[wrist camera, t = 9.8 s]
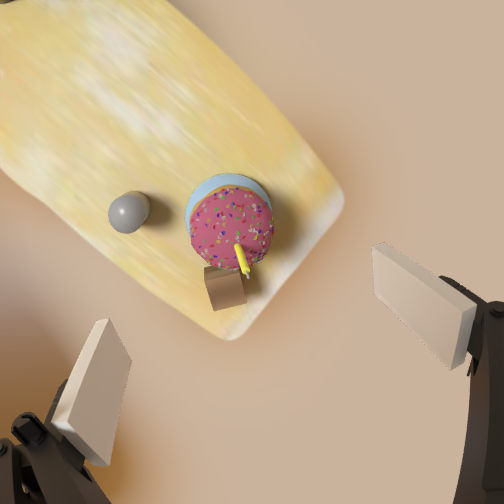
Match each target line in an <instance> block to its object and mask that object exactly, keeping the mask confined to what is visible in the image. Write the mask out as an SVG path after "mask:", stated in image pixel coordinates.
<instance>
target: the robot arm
mask: <svg viewBox="0 0 504 504" xmlns="http://www.w3.org/2000/svg"><path fill="white" fill-rule="evenodd" d="M9 1H12V0H0V3H6V2H9ZM371 248H372V263H373V280H374V295H375V296H376V297H377V298H379V299H380V300H381V301H382V302H383V303H384V304H385V305H386V306H387V307H388V308H389V309H390V310H391V311H392V312H393V313H394V314H395V315H396V316H397V317H398V318H399V319H400V320H401V321H402V322H403V323H404V324H405V325H406V326H407V327H408V328H409V329H410V330H411V331H412V332H413V333H414V334H415V335H416V336H417V337H418V338H419V339H420V340H421V341H422V342H423V343H424V344H425V345H426V346H427V347H428V348H429V350H430V351H431V352H432V353H433V354H434V355H435V356H436V357H437V358H438V359H439V360H440V361H441V362H442V363H443V364H444V365H445V366H446V367H447V368H448V369H449V371H451V370H453V369H454V368H456V367H457V366H459V365H461V364H463V363H464V360H465V357H466V353H467V351H468V352H469V353H470V354H471V355H472V360H471V363H470V366H469V370H468V373H467V376H469V374H470V372H471V377H470V378H471V380H470V400H469V413H468V424H467V432H466V440H465V447H464V453H463V459H462V465H461V470H460V475H459V480H458V485H457V489H456V493H455V497H454V501H453V504H504V302H499V301H493V302H489V303H486V302H485V301H484V300H482V299H481V298H480V297H478V296H477V295H475V294H474V293H472V292H471V291H469V290H466V288H465V287H464V286H462V285H460V284H459V283H457V282H456V281H455V280H453V279H451V278H448V277H445V276H439V277H437V276H436V275H434V274H433V273H431V272H430V271H428V270H427V269H425V268H424V267H422V266H421V265H419V264H418V263H416V262H415V261H413V260H411V259H410V258H408V257H407V256H405V255H404V254H402V253H401V252H399V251H397V250H396V249H394V248H393V247H391V246H389V245H388V244H386V243H385V242H384V243H380V244H377V245H374V246H372V247H371ZM131 363H132V360H131V358H130V356H129V354H128V353H127V351H126V349H125V347H124V346H123V344H122V342H121V340H120V338H119V336H118V334H117V332H116V330H115V328H114V326H113V324H112V322H111V320H110V318H106V319H102V320H98V321H96V323H95V325H94V327H93V329H92V331H91V333H90V335H89V337H88V339H87V341H86V343H85V345H84V347H83V349H82V351H81V353H80V355H79V358H78V360H77V362H76V364H75V366H74V368H73V371H72V373H71V375H70V377H69V379H66V380H65V381H64V382H63V384H62V385H61V386H60V387H59V389H58V391H57V394H56V396H55V397H56V398H54V401H53V405H51V408H50V410H49V412H48V415H47V417H46V420H45V422H44V425H43V424H42V422H41V421H40V420H39V419H38V418H37V417H36V415H35V414H34V413H32V412H25V413H23V414H21V415H19V416H18V417H17V418H16V419H15V421H14V422H13V424H12V427H11V433H12V434H13V435H14V436H15V437H16V438H17V439H18V440H19V441H20V442H21V443H22V444H20V445H16V446H15V445H14V444H13V443H12V442H11V441H10V440H9V439H7V438H2V439H0V504H111V502H110V501H109V500H108V498H107V497H106V496H105V494H104V493H103V491H102V490H101V488H100V487H99V485H98V484H97V483H96V481H95V480H94V478H93V476H92V475H91V473H90V472H89V470H88V469H87V468H86V467H85V466H84V465H83V464H84V460H85V458H86V459H87V460H88V461H89V462H90V463H91V464H92V465H94V466H110V460H111V454H112V448H113V443H114V438H115V433H116V428H117V423H118V418H119V414H120V409H121V404H122V400H123V396H124V391H125V387H126V383H127V378H128V374H129V371H130V367H131ZM22 485H23V486H24V487H25V492H24V491H23V488H22Z"/></svg>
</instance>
